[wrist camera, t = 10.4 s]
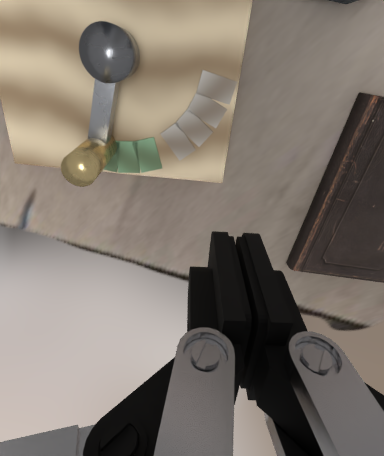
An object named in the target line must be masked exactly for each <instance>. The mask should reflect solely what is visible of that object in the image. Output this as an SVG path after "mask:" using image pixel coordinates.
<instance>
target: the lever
mask: <svg viewBox="0 0 384 456" xmlns="http://www.w3.org/2000/svg"><path fill="white" fill-rule="evenodd" d="M79 54H80V58H81V61H82V64H83V66H84V67H85V69H86V70H87V72H88V73H89V74H90V75H91V76H92V77H93V78H95V82H94V91H93V99H92V107H91V116H90V124H89V132H88V139H86V140H85V141H84V142H83V143H81V144H80V145H79V146H78V147H77V148H75V149H74V150H73V151H72V152H70V153H69V154H68V155H67V156H65V157H64V159H63V160H62V163H61V171H62V174H63V176H64V177H65V178H66V180H67V181H69V182H70V183H71V184H73V185H76V186H80V187H84V186H88V185H90V184H92V183H93V182H94V180H95V179H96V178H97V177H98V175H99V174H100V173H101V171H102V170H103V169H104V167H105V166H106V165H107V164H108V162H109V161H110V160H111V158H112V157H113V156H114V154H115V153H116V150H117V144H116V141H115V139H114V138H113V137H112V136H111V135H112V129H113V123H114V117H115V110H116V104H117V98H118V92H119V85H120V81H122V80H125V79H127V78H129V77H131V76H132V75H133V74H134V73H135V72H136V70H137V68H138V66H139V62H140V51H139V47H138V44H137V42H136V40H135V38H134V37H133V36H132V34H131V33H130V32H128V31H127V30H126V29H124V28H122V27H120V26H117V25H115V24H112V23H110V22H106V21H98V22H94V23H92V24H90V25H89V26H87V27H86V28H85V30H84V31H83V33H82V35H81V37H80V41H79Z"/></svg>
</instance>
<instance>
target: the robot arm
mask: <svg viewBox="0 0 384 456" xmlns="http://www.w3.org/2000/svg"><path fill="white" fill-rule="evenodd" d="M187 323H188V324H187V333H185V335H184V336H183V337H182V338H181V339H180V342H179V344H178V346H177V351H176V356H175V357H174V358H173V359H172V360H171V361H170V362H168V363H167V364H166V365H165V366H164V367H162V368H161V369H160V370H159V371H158V372H157V373H155V374H154V375H153V376H152V377H150V378H149V379H148V380H147V381H146V382H144V383H143V384H142V385H141V386H140V387H138V388H137V389H136V390H135V391H133V392H132V393H131V394H130V395H129V396H127V397H126V398H125V399H124V400H123V401H122V402H120V403H119V404H118V405H117V406H115V407H114V408H113V409H112V410H111V411H109V412H108V413H107V414H106V415H105V416H103V417H102V418H101V419H100V420H99V421H98V422H97V424H95V425H91V426H87V427H83V428H79V427H78V425H74V426H70V427H66V428H61V429H57V430H52V431H48V432H43V433H39V434H34V435H30V436H26V437H21V438H17V439H12V440H8V441H4V442H0V456H233V427H234V405H235V401H236V397H237V393H238V389H239V386H240V387H241V388H246V391H247V396H248V400H256V402H257V406H258V407H259V408H260V409H262V410H263V411H264V412H265V420H266V424H267V427H268V430H269V432H270V436H271V439H272V442H273V445H274V448H275V450H276V454H277V456H384V395H382V394H381V393H379V392H378V391H376V390H375V389H373V388H372V387H370V386H369V385H368V384H366V383H365V382H363V380H362V378H361V377H360V375H359V374H358V372H357V371H356V370H355V368H354V367H353V365H352V364H351V362H350V361H349V359H348V358H347V356H346V355H345V353H344V352H343V351H342V349H341V348H340V347H339V346H338V345H337V344H336V343H335V342H333V341H332V340H331V339H330V338H327V337H326V336H324V335H322V334H318V333H315V332H308V331H307V329H306V326H305V324H304V322H303V319H302V317H301V314H300V312H299V310H298V307H297V305H296V303H295V300H294V298H293V295H292V293H291V291H290V288H289V286H288V283H287V281H286V279H285V276H284V274H283V273H282V272H281V271H277V270H273V268H272V265H271V263H270V260H269V258H268V255H267V252H266V250H265V247H264V244H263V242H262V239H261V236H260V234H254V233H243V235H242V237H237V239H236V245H235V241H234V237H233V236H228V232H214V231H212V234H211V243H210V251H209V260H208V267H190V272H189V287H188V320H187Z"/></svg>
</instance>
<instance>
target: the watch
mask: <svg viewBox="0 0 384 456" xmlns="http://www.w3.org/2000/svg"><path fill="white" fill-rule="evenodd" d="M329 1H334V2H339V3H344V4H349V3H352V2H355V1H358V0H329Z"/></svg>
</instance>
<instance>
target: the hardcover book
mask: <svg viewBox="0 0 384 456" xmlns="http://www.w3.org/2000/svg"><path fill="white" fill-rule="evenodd" d="M287 265H288V267H289V268H290V269H292V270H294V271H301V272H309V273H316V274H324V275H331V276H338V277H346V278H353V279H360V280H368V281H375V282H383V283H384V97H380V96H375V95H370V94H364V93H359V94H358V97H357V99H356V101H355V104H354V106H353V108H352V111H351V113H350V115H349V118H348V120H347V122H346V125H345V127H344V129H343V132H342V134H341V136H340V139H339V141H338V143H337V146H336V148H335V150H334V153H333V155H332V157H331V160H330V162H329V164H328V167H327V169H326V171H325V174H324V176H323V178H322V181H321V183H320V185H319V188H318V190H317V192H316V195H315V197H314V199H313V202H312V204H311V206H310V209H309V211H308V213H307V216H306V218H305V220H304V223H303V225H302V227H301V230H300V232H299V234H298V237H297V239H296V241H295V244H294V246H293V248H292V251H291V253H290V255H289V258H288V260H287Z"/></svg>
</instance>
